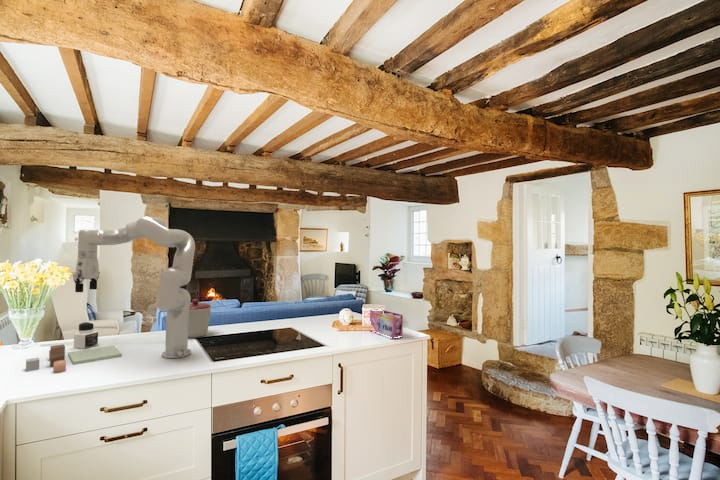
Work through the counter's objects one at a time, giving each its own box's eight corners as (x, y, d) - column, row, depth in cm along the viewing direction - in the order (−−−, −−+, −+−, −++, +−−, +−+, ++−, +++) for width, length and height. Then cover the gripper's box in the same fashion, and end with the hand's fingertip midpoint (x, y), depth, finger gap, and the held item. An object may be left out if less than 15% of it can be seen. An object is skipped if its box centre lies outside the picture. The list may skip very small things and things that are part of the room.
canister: (183, 331, 219) (184, 296, 219) (215, 331, 221) (216, 296, 221) (171, 340, 201) (172, 301, 201) (206, 339, 203) (207, 301, 203)
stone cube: (39, 369, 153) (39, 359, 153) (26, 371, 150) (26, 361, 150) (38, 366, 156) (38, 357, 156) (25, 369, 153) (26, 359, 153)
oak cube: (61, 359, 166) (61, 350, 166) (49, 361, 163) (50, 352, 163) (60, 357, 169) (60, 348, 169) (49, 359, 166) (49, 350, 166)
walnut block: (64, 365, 158) (64, 346, 158) (50, 367, 155) (51, 348, 155) (63, 362, 162) (63, 344, 162) (50, 364, 159) (50, 346, 159)
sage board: (121, 356, 172) (121, 353, 172) (73, 364, 159) (73, 361, 159) (113, 347, 185) (113, 345, 185) (68, 354, 172) (68, 352, 172)
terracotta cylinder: (66, 371, 151) (66, 361, 151) (53, 373, 148) (53, 363, 148) (65, 368, 154) (65, 359, 154) (52, 371, 151) (53, 361, 151)
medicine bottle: (85, 349, 181) (85, 324, 181) (73, 347, 183) (73, 323, 183) (98, 345, 188) (98, 321, 188) (86, 344, 190) (87, 320, 190)
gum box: (404, 338, 215) (405, 315, 215) (394, 340, 210) (394, 316, 210) (379, 330, 234) (379, 308, 234) (369, 331, 229) (369, 310, 230)
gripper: (83, 256, 169) (81, 293, 169) (106, 254, 186) (105, 288, 186) (66, 255, 168) (64, 293, 168) (91, 254, 185) (90, 288, 185)
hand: (86, 290), depth 177 cm, fingers open, 9 cm apart
